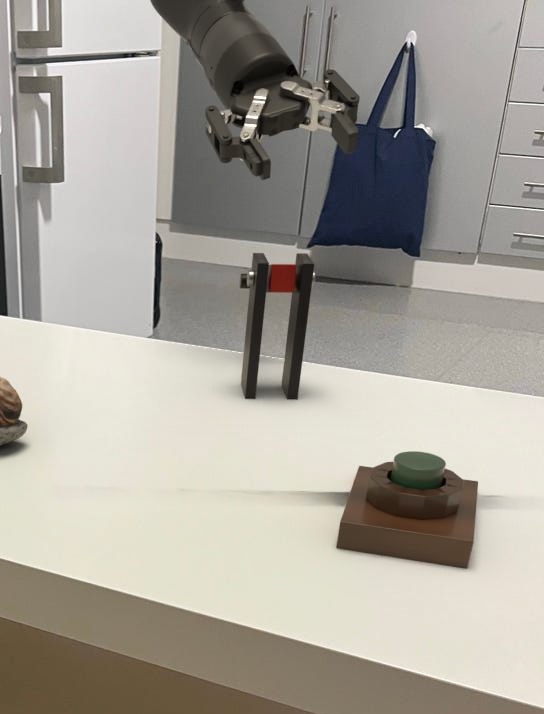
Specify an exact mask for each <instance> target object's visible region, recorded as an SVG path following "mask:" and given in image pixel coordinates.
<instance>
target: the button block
mask: <svg viewBox="0 0 544 714" xmlns="http://www.w3.org/2000/svg"><path fill="white" fill-rule="evenodd" d="M393 462H394V461H385V462H383V463H381V464H380V463H379V464H378V465H376V466H373V467H372V466H365V465H358V468H357V471H356V474H355V477H354V480H353V483H352V486H351V489H350V492H349V495H348V497H347V500H346V503H345V507H344V510H343V512H342V515H341V518H340V521H339V526H338V533H337V540H336V545H335V546H336V547H335V548H336V549H337V550H338V549H339V550H344V551H351V552H357V553H363V554H370V555H375V556H376V555H377V556H381V557H387V558H388V557H389V558H396V559H401V560H408V561H414V562H420V563H427V564H434V565H441V566H447V567H453V568H458V569H466V570H467V569H468V567H469V562H470V558H471V554H472V549H473V546H474V541H475V529H476V516H477V504H478V503H477V502H478V492H479V491H478V489H479V481H478V480H470V479H463V478H462V477H461V476H459V475H458V474H457V473H455V472H454V471H453V470H451V469H448V468H445V471H444V475H443V480H442V485H441V487H440V488H438V489H427V490H419V489H412V488H405V487H403V486H400V485H397V484H395V483H392V482H391V481H390V478H391V473H392V467H393Z"/></svg>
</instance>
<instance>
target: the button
mask: <svg viewBox="0 0 544 714" xmlns="http://www.w3.org/2000/svg"><path fill="white" fill-rule="evenodd" d="M392 462H393V467H392V473H391V478H390V481H391V482H392V483H395V484H397V485H400V486H403V487H405V488H412V489H419V490H427V489H438V488H440V487H441V485H442V480H443V475H444V471H445V469H446V466H447V464H446V460H445V459H444V458H442V457H441V456H439V455H437V454H434V453H429V452H426V451H425V452H424V451H414V450H413V451H411V450H409V451H403V452H400V453H397V454H396V455H395V456H394V457H393V461H392Z"/></svg>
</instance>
